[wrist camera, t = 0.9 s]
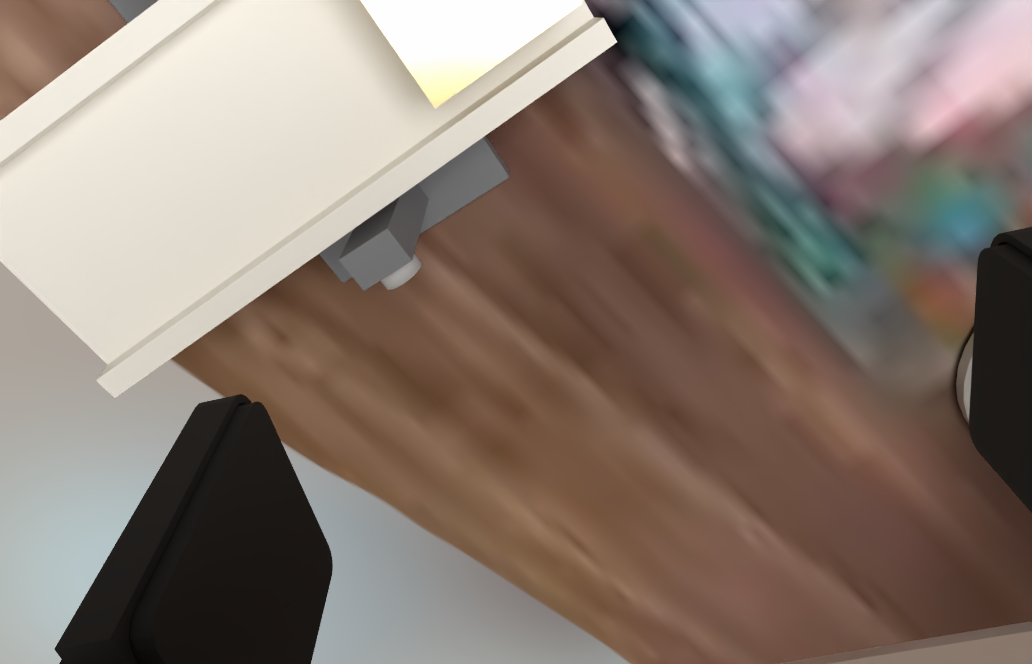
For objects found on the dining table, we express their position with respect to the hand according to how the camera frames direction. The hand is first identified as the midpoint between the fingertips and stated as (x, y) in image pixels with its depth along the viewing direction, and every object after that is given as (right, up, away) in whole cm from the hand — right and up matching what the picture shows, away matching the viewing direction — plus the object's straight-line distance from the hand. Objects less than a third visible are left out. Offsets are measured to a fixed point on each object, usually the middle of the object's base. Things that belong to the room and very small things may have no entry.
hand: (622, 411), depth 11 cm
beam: (-11, +11, +24) cm, 29 cm away
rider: (-4, +14, +19) cm, 24 cm away
